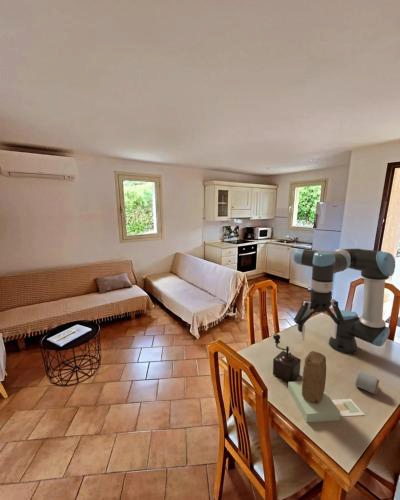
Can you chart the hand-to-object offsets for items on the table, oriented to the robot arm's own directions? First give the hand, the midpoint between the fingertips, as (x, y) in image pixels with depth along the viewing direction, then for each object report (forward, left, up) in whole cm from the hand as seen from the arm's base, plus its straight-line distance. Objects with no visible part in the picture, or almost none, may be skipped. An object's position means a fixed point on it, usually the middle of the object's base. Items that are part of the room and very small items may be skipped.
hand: (317, 337), depth 93 cm
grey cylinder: (-31, -7, -33) cm, 46 cm away
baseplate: (0, 0, -32) cm, 32 cm away
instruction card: (-14, +3, -32) cm, 35 cm away
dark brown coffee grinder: (+5, -20, -33) cm, 39 cm away
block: (0, 0, -28) cm, 29 cm away
